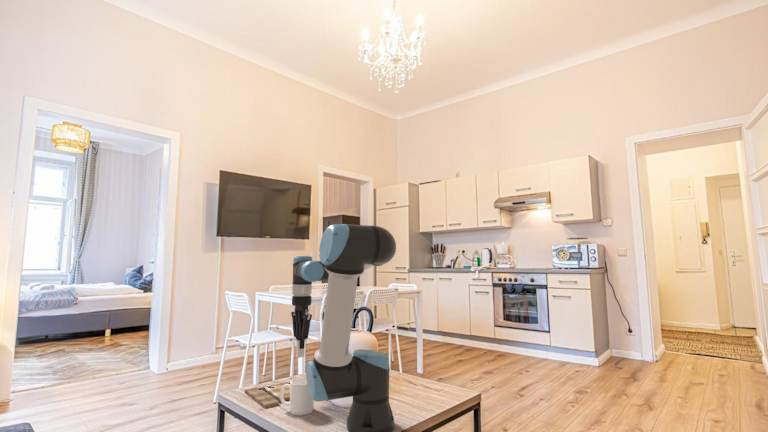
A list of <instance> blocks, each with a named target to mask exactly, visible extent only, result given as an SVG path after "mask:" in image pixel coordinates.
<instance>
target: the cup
mask: <svg viewBox="0 0 768 432" xmlns="http://www.w3.org/2000/svg"><path fill="white" fill-rule="evenodd" d="M285 388H290V400H289V401H287V400H286V401H284V399H283V392H284V389H285ZM280 400H281V402H280V403H281V404H283V405H284V406H286V407H289V408H288V409H289V413H290V414H291V415H293V416H298V417H299V416H307V415H310V414H312V413H313V411H314V408H315V405H314V403H315V402H314V400H313V399H312V397H311V395H310V393H309V390H308V385H307V380H306V377H297V378H293V379H291V380H290V382H289V384H285V385H283V386H282V388H281V391H280Z"/></svg>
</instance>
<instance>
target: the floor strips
mask: <svg viewBox="0 0 768 432" xmlns="http://www.w3.org/2000/svg"><path fill="white" fill-rule="evenodd" d="M258 387H259V386H256V387H255V386H254V387H251V388H246V389H244V393H245V395H247V396H248V397H250V398H251V399H252V400H253V401H255V402H256V403H257V404H259V405H260V406H261V407H262V408H263V409H267V408H270V407H275V406H279V405H280V402H279V401H278V400H276V399H275V398H274V397H272V396H271V395H269V394H268V393H267V392H265V391H264V390H263V389H262V391H261V390H259V389H257V388H258Z"/></svg>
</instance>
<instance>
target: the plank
mask: <svg viewBox="0 0 768 432" xmlns="http://www.w3.org/2000/svg"><path fill="white" fill-rule="evenodd" d="M285 384H290V382H289V383H288V382H287V381H285V382H280V383H276V384H273V386H271V385H270V386H271V387H274V388H268V387H267V385H265V386H263V387H262V389H263V388H265V389H266V391H267V393H268V394H269V395H271V396H272V397H274V398H275V399H276V400H278V401H279V403H282V402H281V400H280V391H281V388H282V386H283V385H285ZM283 399H284V401H286V402H287V401H290V388H285V389H284V392H283Z"/></svg>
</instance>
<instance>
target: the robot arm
mask: <svg viewBox="0 0 768 432" xmlns="http://www.w3.org/2000/svg"><path fill="white" fill-rule="evenodd" d="M396 243H397V242H396V239H395V238H394V236H393V235H392V233H391V232H390V231H389V230H387V229H386V228H384V227H381V226H379V225H366V224H365V225H362V224H347V223H341V224H339V223H338V224H336V223H335V224H330V225H329V226H327V227H326V229H325V230H324V231H323V233H322V235H321V239H320V243H319V248H318V249H319V251H318V252H319V254H318V255H319V256H318V257H319V260H313V257H312V256H311V255H310V256H308V255H296V256H294V257H293V260H292V261H293V262H292V286H291V287H292V290H291V294H292V297H291V305H292V307H294V311H291V312H290V313H291V319H292V321H291V322H292V332H293V337H294V338H295V340H296V345H295V347H296V348H295V349H296V351H295V352H296V353H295V357H296V358H297V359H298V358H303V357H305V346H306V345H305V344H306V343H305V341H306V340H307V339H309V334H310V327H311V320H312V318H313V315H312V314H311V313H309V307H310V306H311V305H312V295H311V294H312V288H313V286H312V285H313V283H314V282H327V288H326V296H325V305H324V314H323V319H322V322H323V323H322V329H321V330H322V331H321V339H320V346H319V348H318V349H317V350H316V351H315V352H314V354H313V360H309V361H307V362H306V364H305V378H306V380H307V385H308V390H309V393H310V395H311V397H312V399H313V400H314V401H315V402H325V401H326V402H329V401H333V400H338V399H344V398H350V397H352V403H351V405H350V409H349V412H348V416H347V418H346V429H347V431H348V432H392V431H394V428H395V418H394V414H393V410H392V407H391V403H390V357H389V356H388V355H387V354H386V353H384V352H380V351H376V350H371V349H355V350H353V353H351V352H350V351H349V347H350V339H351V334H352V333H351V332H352V327H353V326H352V325H353V317H354V310H355V302H356V295H357V293H356V292H357V286H358V280H359V279H358V278H359V277H360V276H361V275H363V274H364V272H365V270H369V268H372V267H381V266H383V265H386V264H387V263H389V262H390V261H391V260H392V259H394V256H395V254H396V252H397V244H396Z"/></svg>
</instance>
